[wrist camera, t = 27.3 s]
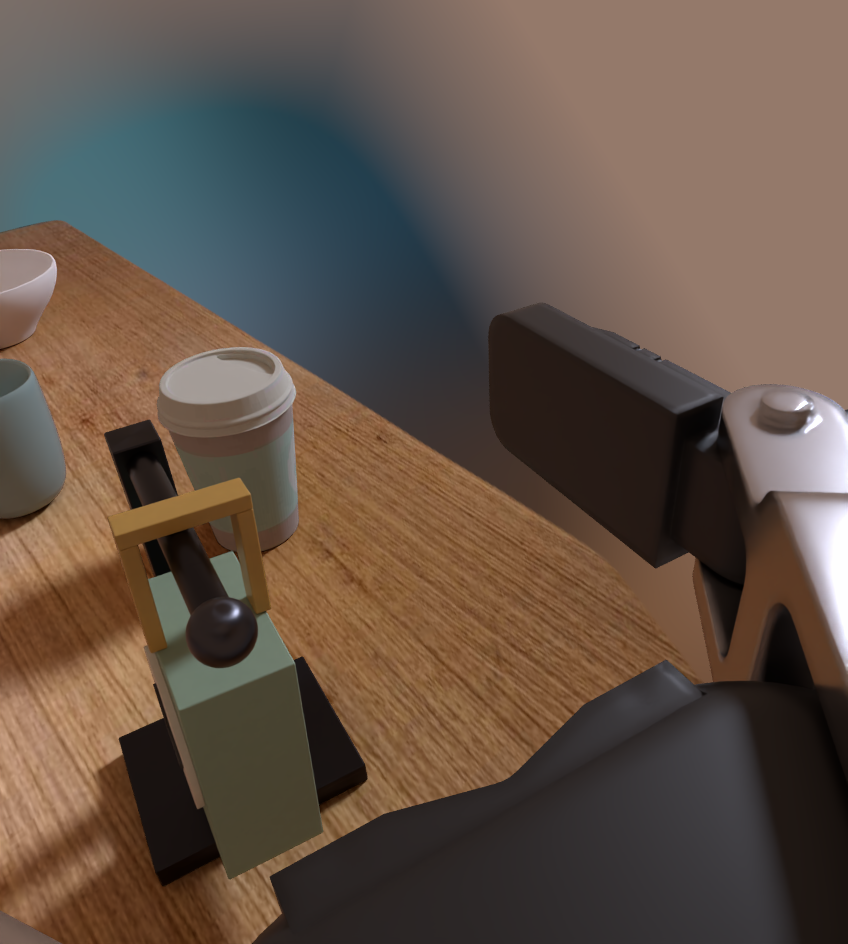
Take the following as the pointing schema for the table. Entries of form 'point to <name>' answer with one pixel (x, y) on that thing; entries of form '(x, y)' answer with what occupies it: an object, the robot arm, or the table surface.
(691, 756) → the robot arm
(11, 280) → the bowl
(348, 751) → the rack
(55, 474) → the cup
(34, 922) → the table surface
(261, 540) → the coffee cup
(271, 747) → the green box with handle
